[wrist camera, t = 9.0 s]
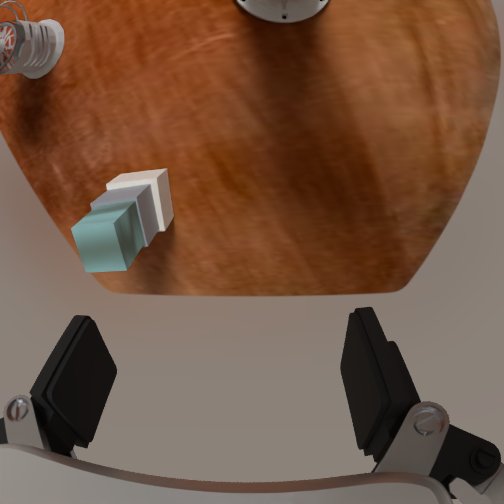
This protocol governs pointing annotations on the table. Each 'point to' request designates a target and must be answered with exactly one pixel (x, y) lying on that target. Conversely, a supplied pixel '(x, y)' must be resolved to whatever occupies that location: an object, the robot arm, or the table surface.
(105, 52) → the table surface
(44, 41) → the french press
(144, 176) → the block
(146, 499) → the robot arm
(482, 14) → the table surface
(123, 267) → the teal pillar
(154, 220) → the tower top
